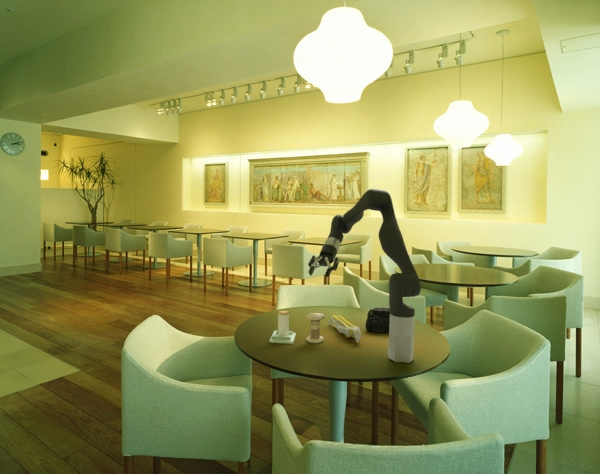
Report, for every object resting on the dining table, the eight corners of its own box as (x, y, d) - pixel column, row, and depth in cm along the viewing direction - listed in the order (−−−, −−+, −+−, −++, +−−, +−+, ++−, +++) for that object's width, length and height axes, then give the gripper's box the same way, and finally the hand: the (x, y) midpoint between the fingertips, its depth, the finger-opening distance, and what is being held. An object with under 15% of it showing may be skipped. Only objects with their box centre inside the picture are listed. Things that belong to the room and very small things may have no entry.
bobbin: (323, 343, 177) (324, 318, 176) (305, 342, 178) (306, 317, 177) (324, 337, 185) (324, 313, 184) (306, 337, 185) (307, 312, 185)
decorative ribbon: (343, 314, 207) (368, 331, 178) (341, 326, 207) (365, 345, 178) (328, 313, 205) (351, 330, 176) (326, 324, 205) (348, 343, 176)
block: (289, 336, 183) (289, 311, 182) (284, 338, 180) (284, 313, 179) (282, 334, 185) (282, 310, 184) (277, 336, 182) (277, 311, 181)
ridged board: (292, 343, 176) (293, 338, 176) (269, 342, 177) (269, 337, 177) (295, 335, 188) (295, 330, 188) (273, 334, 189) (273, 329, 189)
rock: (369, 324, 209) (364, 331, 195) (370, 305, 209) (365, 311, 194) (406, 328, 203) (403, 336, 189) (406, 308, 203) (403, 314, 189)
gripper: (314, 242, 202) (301, 268, 193) (341, 244, 195) (329, 271, 186) (320, 252, 207) (307, 278, 198) (346, 254, 199) (334, 281, 190)
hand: (318, 275), depth 192 cm, fingers open, 8 cm apart
